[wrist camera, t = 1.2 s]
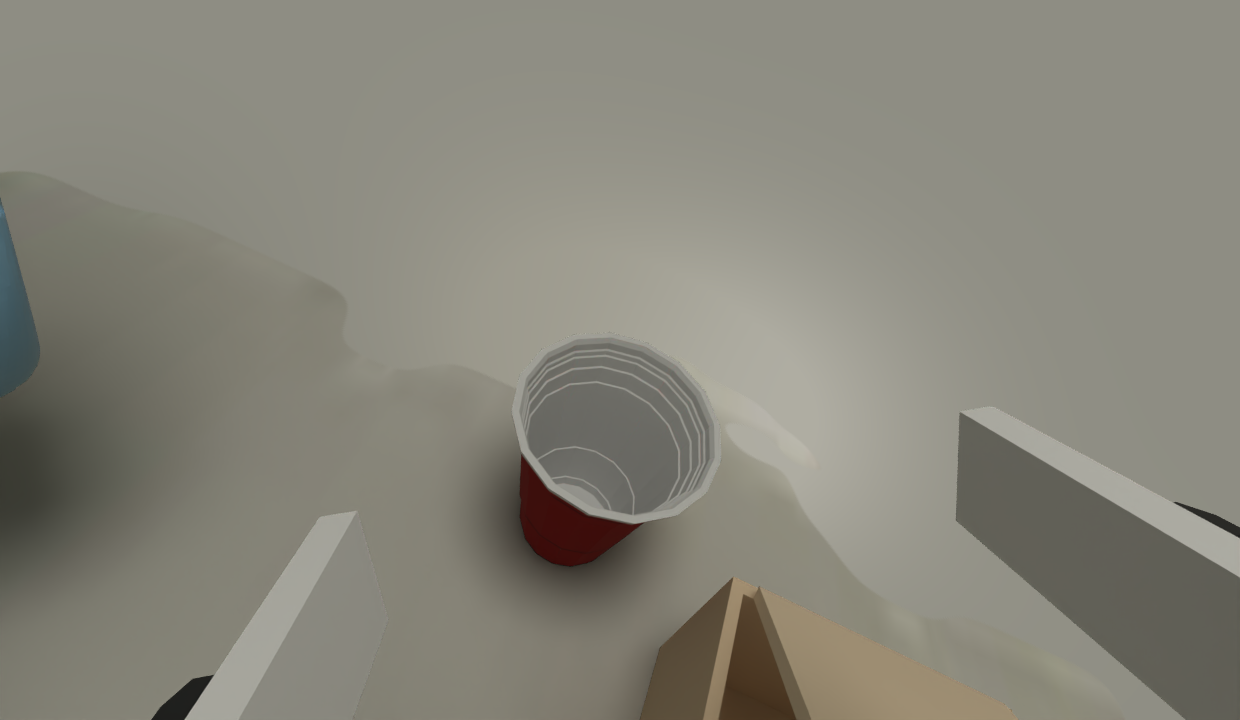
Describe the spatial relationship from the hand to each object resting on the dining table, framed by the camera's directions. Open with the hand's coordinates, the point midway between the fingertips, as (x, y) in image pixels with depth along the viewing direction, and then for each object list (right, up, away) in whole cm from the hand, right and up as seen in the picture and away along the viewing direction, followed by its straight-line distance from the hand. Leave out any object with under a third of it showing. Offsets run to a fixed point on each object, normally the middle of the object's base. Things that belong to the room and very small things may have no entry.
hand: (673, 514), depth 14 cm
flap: (+10, -10, +15) cm, 21 cm away
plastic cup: (-5, -7, +26) cm, 27 cm away
